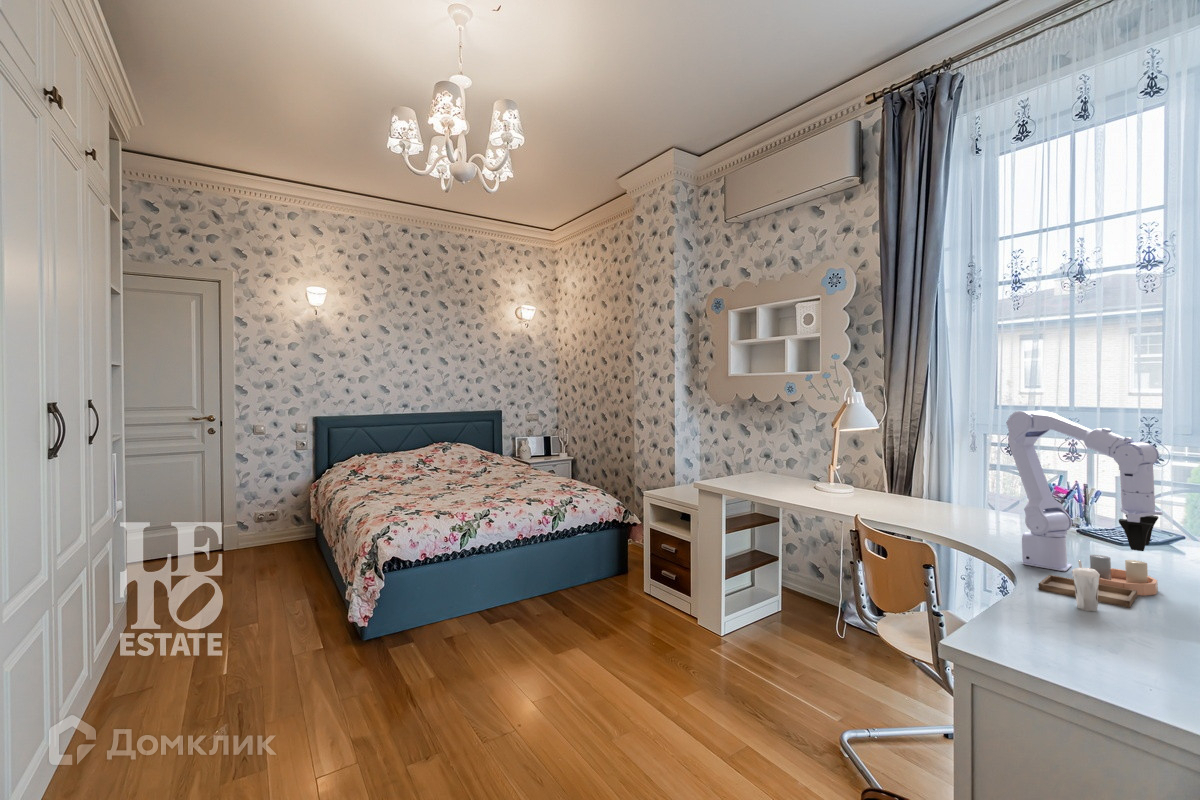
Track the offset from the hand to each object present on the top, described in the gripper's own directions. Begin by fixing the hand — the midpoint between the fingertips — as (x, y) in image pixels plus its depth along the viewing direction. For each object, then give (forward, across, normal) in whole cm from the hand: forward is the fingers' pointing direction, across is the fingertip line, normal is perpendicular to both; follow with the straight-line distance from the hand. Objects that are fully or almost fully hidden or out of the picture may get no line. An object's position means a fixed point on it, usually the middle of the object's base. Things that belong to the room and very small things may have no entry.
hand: (1140, 547), depth 127 cm
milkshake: (+11, -24, +6) cm, 27 cm away
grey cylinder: (+10, 0, +7) cm, 12 cm away
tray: (+10, -12, +8) cm, 18 cm away
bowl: (+10, 0, +4) cm, 11 cm away
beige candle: (+10, 0, +1) cm, 10 cm away
